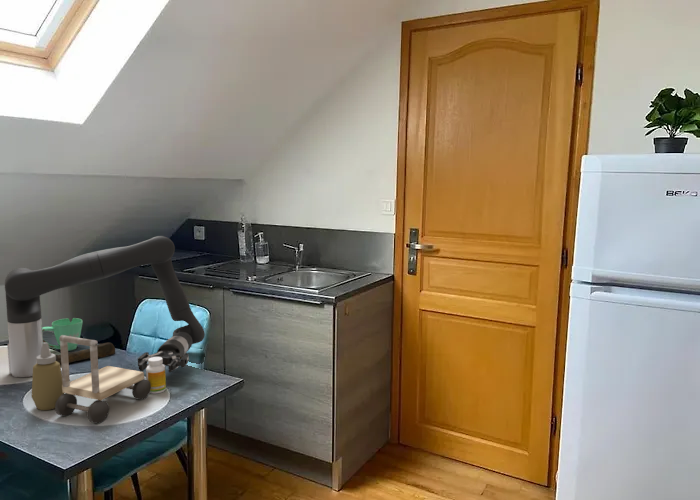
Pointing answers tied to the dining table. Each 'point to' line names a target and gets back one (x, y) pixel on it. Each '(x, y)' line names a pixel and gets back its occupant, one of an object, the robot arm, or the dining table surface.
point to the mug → (65, 331)
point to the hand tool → (102, 351)
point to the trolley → (96, 383)
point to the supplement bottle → (156, 374)
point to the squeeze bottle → (46, 380)
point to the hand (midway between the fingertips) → (155, 368)
